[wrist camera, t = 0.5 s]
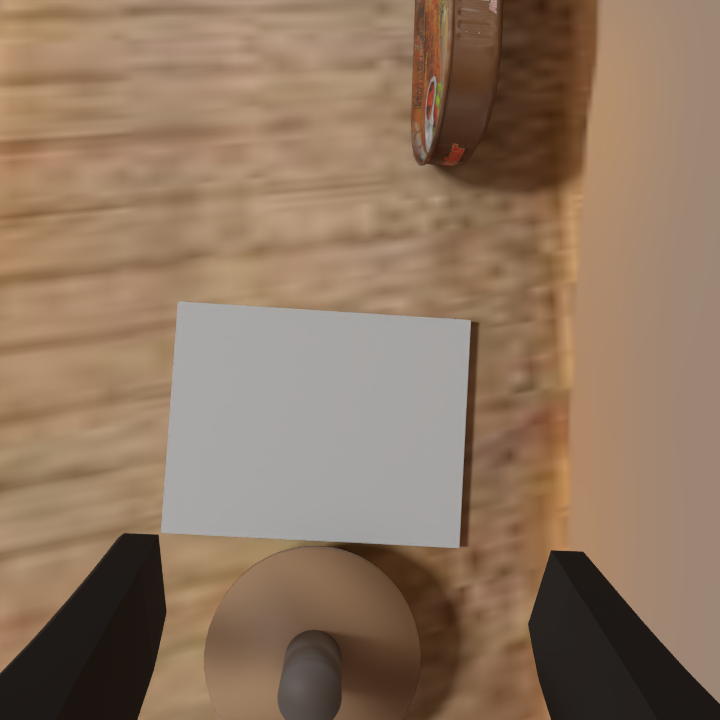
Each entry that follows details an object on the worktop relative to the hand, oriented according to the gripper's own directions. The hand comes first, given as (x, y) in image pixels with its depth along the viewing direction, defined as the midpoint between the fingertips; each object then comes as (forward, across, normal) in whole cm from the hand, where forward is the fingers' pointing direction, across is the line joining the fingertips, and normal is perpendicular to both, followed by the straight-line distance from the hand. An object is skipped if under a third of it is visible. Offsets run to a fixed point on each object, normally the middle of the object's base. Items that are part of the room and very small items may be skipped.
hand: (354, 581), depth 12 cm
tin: (+32, -5, -7) cm, 33 cm away
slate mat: (+20, +1, +11) cm, 23 cm away
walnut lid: (+12, 0, +20) cm, 23 cm away
